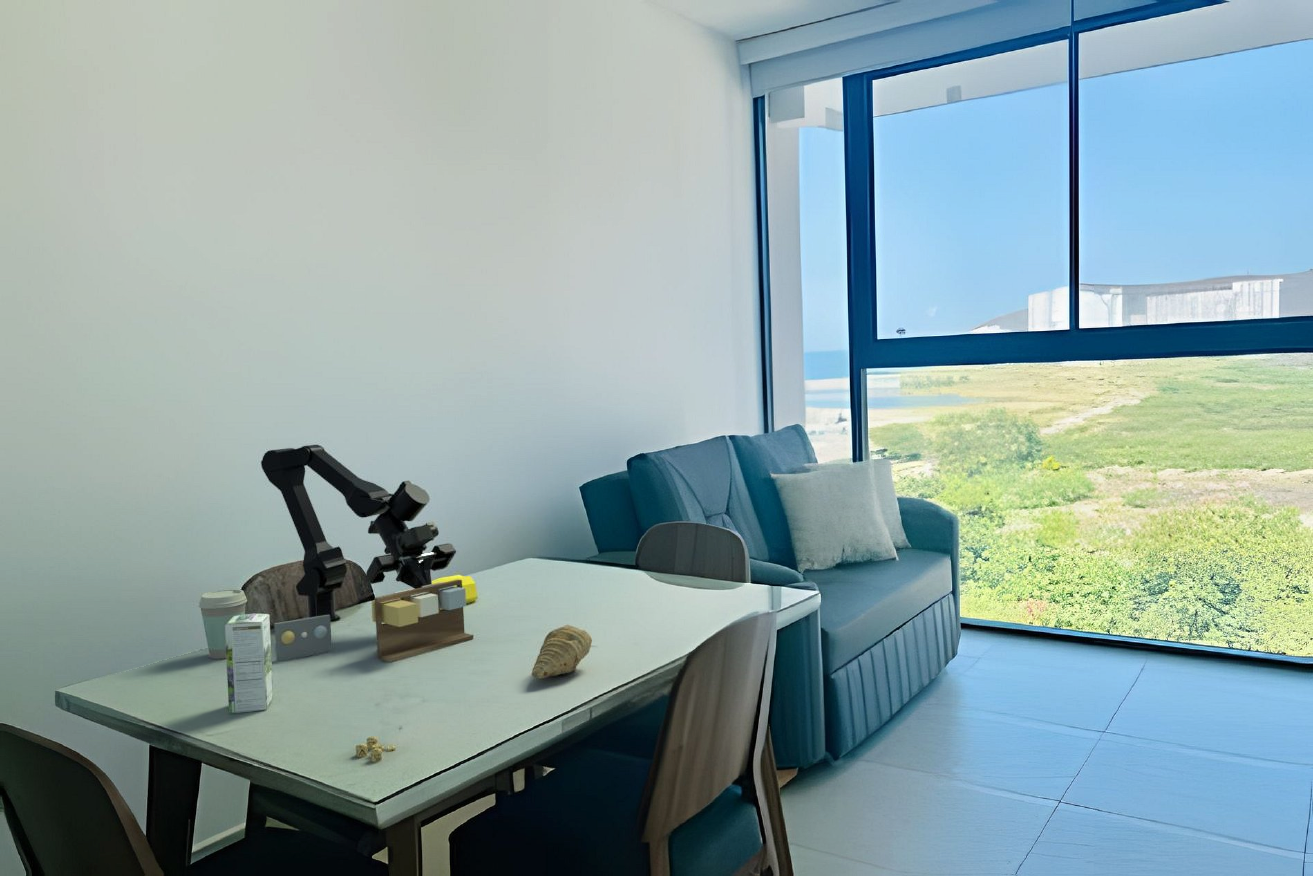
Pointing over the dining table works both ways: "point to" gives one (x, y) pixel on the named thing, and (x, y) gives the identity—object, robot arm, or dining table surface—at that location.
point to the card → (303, 637)
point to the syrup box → (249, 663)
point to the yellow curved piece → (466, 583)
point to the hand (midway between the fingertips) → (430, 594)
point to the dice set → (376, 749)
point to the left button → (397, 612)
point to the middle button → (424, 603)
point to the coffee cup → (220, 617)
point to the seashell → (562, 651)
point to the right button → (451, 597)
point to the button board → (419, 627)
